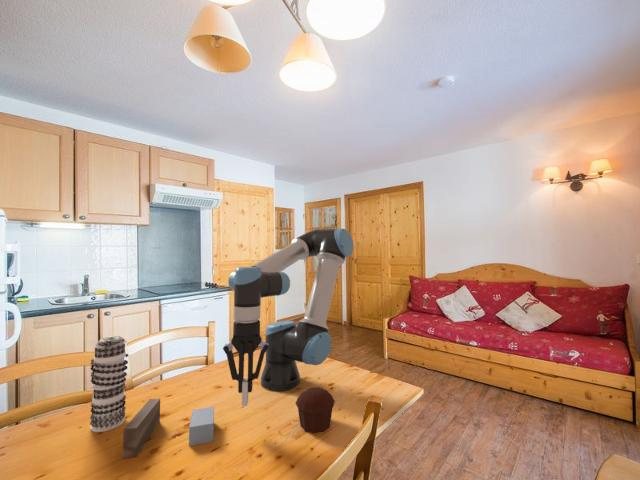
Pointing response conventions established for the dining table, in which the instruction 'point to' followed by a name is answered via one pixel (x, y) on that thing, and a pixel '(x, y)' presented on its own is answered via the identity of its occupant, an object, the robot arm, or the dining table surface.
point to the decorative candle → (108, 384)
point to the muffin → (315, 409)
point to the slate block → (201, 426)
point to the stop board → (141, 428)
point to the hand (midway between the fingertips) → (245, 403)
